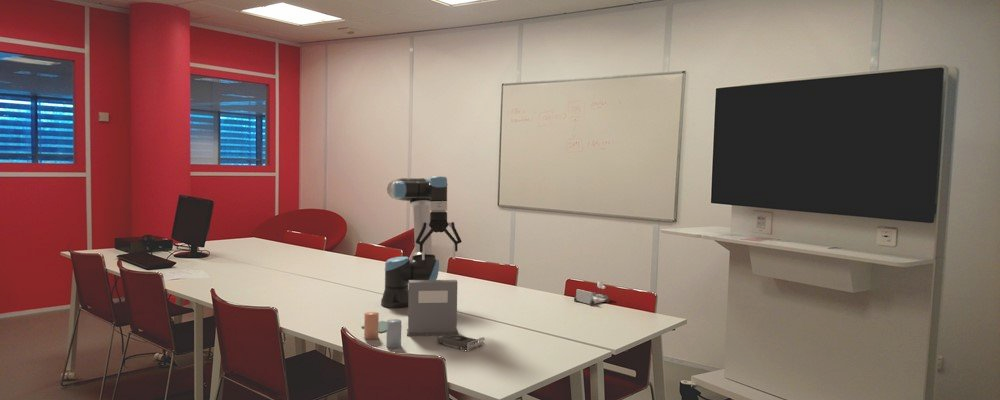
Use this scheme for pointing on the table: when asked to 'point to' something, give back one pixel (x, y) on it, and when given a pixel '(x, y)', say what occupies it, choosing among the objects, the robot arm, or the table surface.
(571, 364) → the table surface
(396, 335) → the slate cartridge
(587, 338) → the table surface
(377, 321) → the cylinder
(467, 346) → the graphics card
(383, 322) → the green mat
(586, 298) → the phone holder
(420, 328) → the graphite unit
